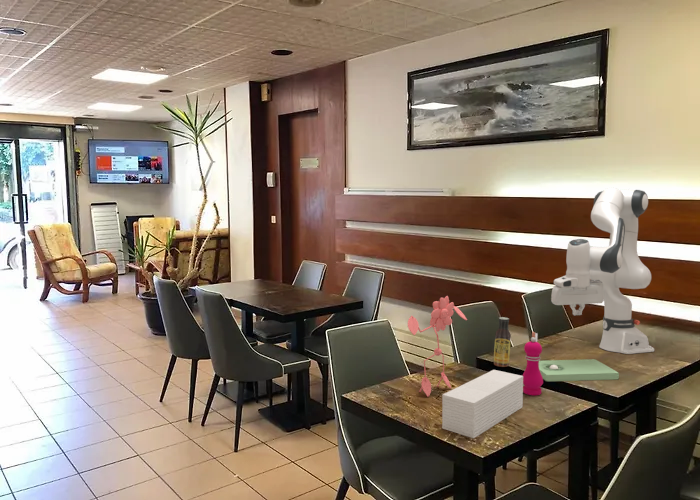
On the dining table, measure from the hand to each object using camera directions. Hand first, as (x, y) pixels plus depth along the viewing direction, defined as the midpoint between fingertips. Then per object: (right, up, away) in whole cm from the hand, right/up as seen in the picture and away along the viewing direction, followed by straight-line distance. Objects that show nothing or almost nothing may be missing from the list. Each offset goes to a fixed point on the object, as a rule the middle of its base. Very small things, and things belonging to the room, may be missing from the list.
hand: (577, 314), depth 224 cm
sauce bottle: (-28, -22, +8) cm, 36 cm away
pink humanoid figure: (-58, -25, -25) cm, 68 cm away
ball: (-11, -21, -4) cm, 24 cm away
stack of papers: (-48, -28, -46) cm, 72 cm away
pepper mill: (-26, -25, -24) cm, 43 cm away
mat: (-3, -23, -3) cm, 23 cm away
